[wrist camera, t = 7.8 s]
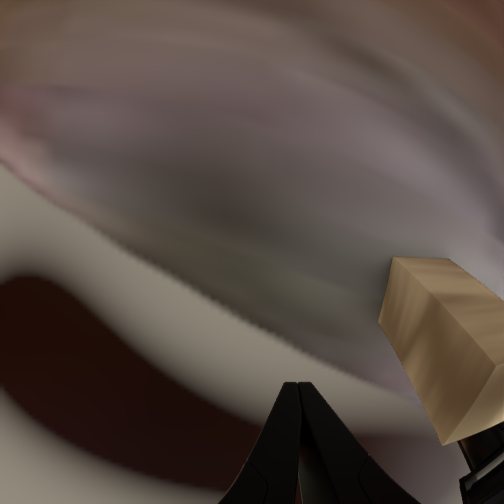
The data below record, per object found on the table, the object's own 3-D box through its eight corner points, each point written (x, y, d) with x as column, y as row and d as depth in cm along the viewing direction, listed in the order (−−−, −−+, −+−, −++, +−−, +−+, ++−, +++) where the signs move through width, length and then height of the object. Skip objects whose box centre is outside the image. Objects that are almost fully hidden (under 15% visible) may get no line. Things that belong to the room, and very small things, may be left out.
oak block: (432, 318, 15) (506, 419, 7) (377, 321, 15) (441, 446, 7) (449, 258, 14) (552, 345, 5) (392, 256, 14) (495, 365, 5)
